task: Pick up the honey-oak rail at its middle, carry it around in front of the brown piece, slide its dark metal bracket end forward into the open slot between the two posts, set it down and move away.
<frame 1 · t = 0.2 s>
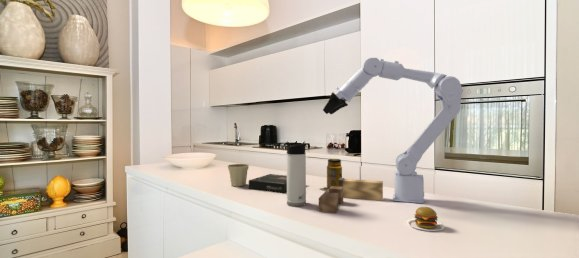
hand: (327, 112, 112), 31 cm above the worktop, tool tilted 45°, fingers open, 7 cm apart
brown piece: (333, 206, 96), on the worktop
travel mug: (296, 204, 99), on the worktop
condiment: (332, 189, 120), on the worktop
rail: (360, 197, 106), on the worktop
flower pot: (238, 185, 128), on the worktop
portable cd player: (276, 188, 125), on the worktop
hamburger: (425, 228, 77), on the worktop
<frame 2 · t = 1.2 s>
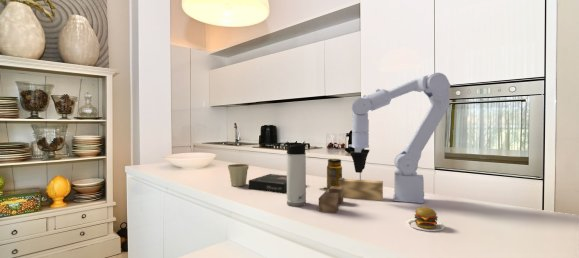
hand: (360, 170, 106), 10 cm above the worktop, tool pointing down, fingers open, 7 cm apart
nothing on the worktop moved.
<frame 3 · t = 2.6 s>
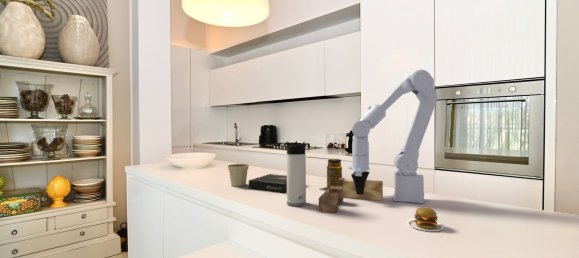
hand: (360, 193, 106), 2 cm above the worktop, tool pointing down, fingers closed on rail, 3 cm apart
rail: (360, 197, 106), on the worktop, touching gripper
everything else where it was.
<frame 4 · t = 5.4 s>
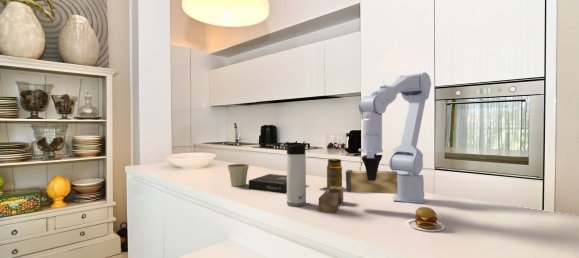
hand: (372, 179, 91), 9 cm above the worktop, tool pointing down, fingers closed on rail, 3 cm apart
rail: (371, 191, 92), point 6 cm above the worktop, touching gripper
everything else where it was.
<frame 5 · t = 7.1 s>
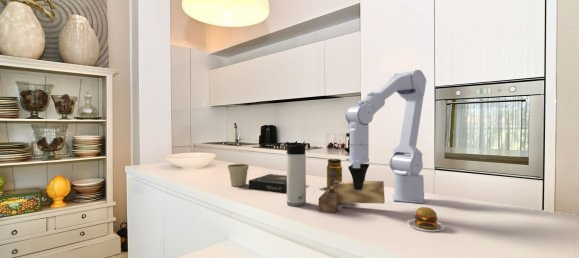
hand: (359, 188, 93), 6 cm above the worktop, tool pointing down, fingers closed on rail, 3 cm apart
rail: (359, 201, 93), point 2 cm above the worktop, touching gripper
everything else where it was.
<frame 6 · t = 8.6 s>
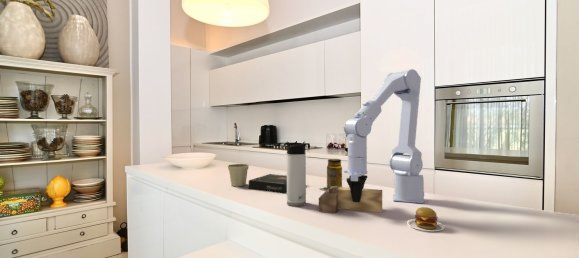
hand: (357, 200, 93), 3 cm above the worktop, tool pointing down, fingers closed on rail, 3 cm apart
rail: (357, 208, 93), on the worktop, touching gripper
everything else where it was.
when the fingers open (3 cm above the worktop, at t = 8.6 s): rail stays where it is, on the worktop.
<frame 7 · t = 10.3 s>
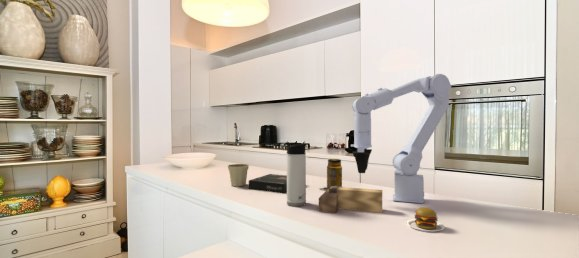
hand: (362, 171, 103), 10 cm above the worktop, tool pointing down, fingers open, 7 cm apart
rail: (357, 208, 93), on the worktop
everything else where it was.
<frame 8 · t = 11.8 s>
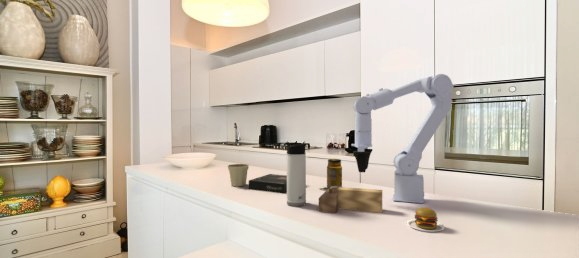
hand: (363, 170, 105), 10 cm above the worktop, tool pointing down, fingers open, 7 cm apart
nothing on the worktop moved.
at the end: rail 0.2 cm from the target spot on the worktop beside the brown piece, on the worktop; rail tilted 0°; the gripper is holding nothing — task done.
